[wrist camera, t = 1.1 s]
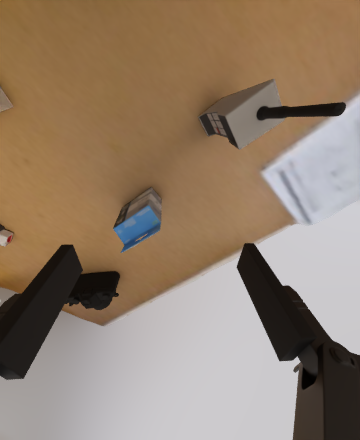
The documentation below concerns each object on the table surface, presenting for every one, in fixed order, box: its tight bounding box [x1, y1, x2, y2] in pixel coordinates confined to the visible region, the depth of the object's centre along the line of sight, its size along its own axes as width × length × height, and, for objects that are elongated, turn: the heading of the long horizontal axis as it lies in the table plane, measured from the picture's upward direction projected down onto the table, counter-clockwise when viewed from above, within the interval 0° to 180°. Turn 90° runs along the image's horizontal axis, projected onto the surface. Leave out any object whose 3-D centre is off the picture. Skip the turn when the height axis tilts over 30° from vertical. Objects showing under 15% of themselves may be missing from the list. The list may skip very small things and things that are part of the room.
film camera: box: [65, 272, 120, 310], centre depth 47 cm, size 15×10×9 cm, turn 93°
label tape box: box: [113, 187, 162, 253], centre depth 33 cm, size 9×4×12 cm, turn 123°
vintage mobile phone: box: [198, 79, 346, 150], centre depth 19 cm, size 4×5×25 cm
